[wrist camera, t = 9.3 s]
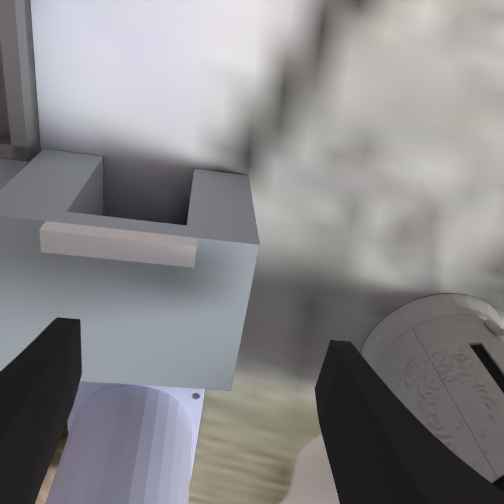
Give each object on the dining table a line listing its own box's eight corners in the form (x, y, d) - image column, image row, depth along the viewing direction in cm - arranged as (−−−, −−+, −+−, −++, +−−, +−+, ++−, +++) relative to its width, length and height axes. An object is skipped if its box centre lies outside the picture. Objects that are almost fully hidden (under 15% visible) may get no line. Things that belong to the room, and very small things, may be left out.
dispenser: (227, 297, 24) (231, 402, 18) (52, 281, 23) (-7, 387, 17) (248, 175, 21) (261, 254, 15) (44, 148, 20) (-35, 221, 14)
